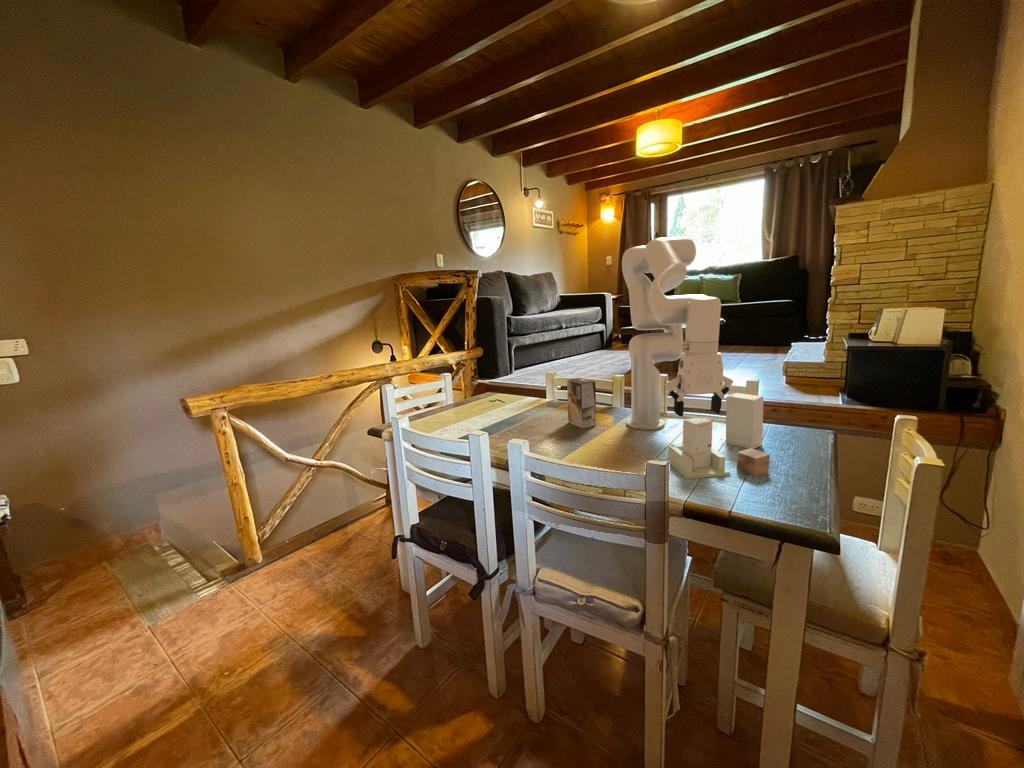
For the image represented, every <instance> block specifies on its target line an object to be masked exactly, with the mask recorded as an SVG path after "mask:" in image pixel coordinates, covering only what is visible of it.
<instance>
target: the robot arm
mask: <svg viewBox="0 0 1024 768" xmlns="http://www.w3.org/2000/svg"><path fill="white" fill-rule="evenodd" d="M696 255H697V247H696V245H695V242H694V241H693V239H691V238H690V237H688V236H671V237H669V236H668V237H658V238H654V239H652V240H650V241H649V242H647V244H646V245H637V246H633V247H630V248H628V249H626V250H625V251H624V252H623V255H622V259H621V269H622V270H621V272H622V275H623V278H624V281H625V285H626V287H627V289H628V295H629V296H628V297H629V309H630V320H631V324H632V325H631V326H632V327H633V329H635V330H637V331H653V330H656V331H657V330H663V332H659V333H656V332H655V333H641V334H638V335H634V336H633V337H632V338H631V339H630V340H629V344H628V353H629V358H630V367H631V369H630V370H631V402H630V404H631V406H630V407H631V413H630V414H631V416H630V418H628V419H627V420H626V425H627V426H628V427H629V428H631V429H635V430H639V431H640V430H641V431H654V430H660V429H662V428H664V427H665V426H666V423H665V421H664V420H663V419H661V394H662V393H661V391H662V389H661V387H662V385H661V384H662V383H661V382H662V380H661V378H662V377H661V373H660V371H659V369H658V368H657V367H656V366H655V363H657V362H659V363H660V362H672V361H679V362H678V364H679V365H678V369H677V370H678V371H677V377H674V378H673V379H670V380H669V381H668V382H666V383H664V387H665V389H666V391H667V394H669V396H670V397H671V398H672V399H673V401H674V402H673V412H674V413H675V414H676V415H677V416H679V417H680V418H681V417H683V416H684V408H685V407H684V406H685V405H684V404H685V402H684V401H683V399H684V398H685V397H686V396H687V395H688V396H689V395H690V396H694V395H695V396H696V395H707V394H709V395H710V394H713V395H711V401H710V411H712V412H713V413H715V414H720V413H721V409H722V403H723V402H722V399H724V398H725V396H726V394H727V393H728V392H729V391H730V388H731V386H733V383H734V380H733V379H731V378H729V377H727V376H725V375H724V366H723V357H722V353H721V352H719V351H718V350H719V340H720V339H719V338H720V337H719V336H720V323H721V322H720V321H721V310H722V302H721V299H720V298H719V297H716V296H708V295H706V294H699V293H698V294H678V295H675V294H674V295H666V294H665V293H667V292H669V291H671V290H673V289H675V288H677V287H678V286H679V285H682V283H683V282H684V281H685V279H686V277H687V273H688V271H687V267H688V266H690V265H691V264H692V263H693V262H694V261H695V259H696ZM645 273H651V274H652V276H653V278H654V279H653V281H652V280H651V279H650V278H649V277H648V276H647V275H646V274H645ZM683 325H685V336H684V332H683V331H684V330H683ZM684 337H685V338H684ZM679 359H680V360H679ZM675 386H676V388H677V390H676V391H675V390H674V387H675Z"/></svg>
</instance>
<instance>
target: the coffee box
mask: <svg viewBox="0 0 1024 768" xmlns="http://www.w3.org/2000/svg"><path fill="white" fill-rule="evenodd" d="M566 385H567V386H566V388H567V389H566V390H567V391H566V392H567V416H568V418H567V419H568V422H567V423H568V424H570V423H571V425H573V426H575V427H578V428H580V429H582V430H583V429H589V428H592V426H593V427H595V426H597V407H596V405H597V402H596V401H597V400H596V398H597V397H596V394H597V393H596V392H597V390H596V381H593V380H590V379H586V378H582V377H577V378H572V379H567V380H566Z"/></svg>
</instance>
